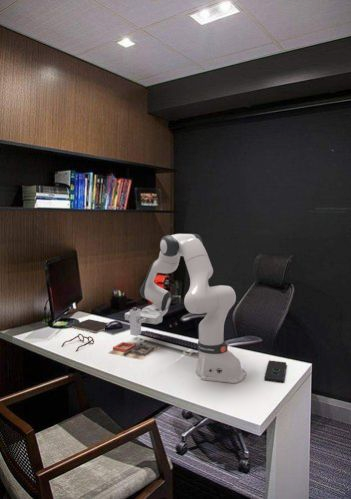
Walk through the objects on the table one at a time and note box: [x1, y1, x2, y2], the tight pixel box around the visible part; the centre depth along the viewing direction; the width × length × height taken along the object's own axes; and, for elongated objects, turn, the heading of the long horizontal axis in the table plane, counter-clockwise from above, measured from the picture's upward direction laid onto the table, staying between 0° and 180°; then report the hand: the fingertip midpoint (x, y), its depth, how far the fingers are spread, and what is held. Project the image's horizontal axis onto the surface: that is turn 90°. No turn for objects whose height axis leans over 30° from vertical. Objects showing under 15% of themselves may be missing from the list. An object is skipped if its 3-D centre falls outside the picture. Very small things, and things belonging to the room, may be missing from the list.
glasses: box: [61, 333, 95, 353], centre depth 203 cm, size 13×13×5 cm
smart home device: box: [264, 360, 287, 384], centre depth 164 cm, size 8×2×20 cm
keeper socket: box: [112, 341, 136, 352], centre depth 193 cm, size 9×9×2 cm
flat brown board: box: [107, 341, 161, 361], centre depth 190 cm, size 21×18×3 cm
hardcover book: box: [70, 318, 108, 334], centre depth 237 cm, size 16×23×2 cm
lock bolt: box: [129, 306, 142, 337], centre depth 189 cm, size 4×4×14 cm
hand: (134, 321), depth 188 cm, fingers closed on lock bolt, 4 cm apart
